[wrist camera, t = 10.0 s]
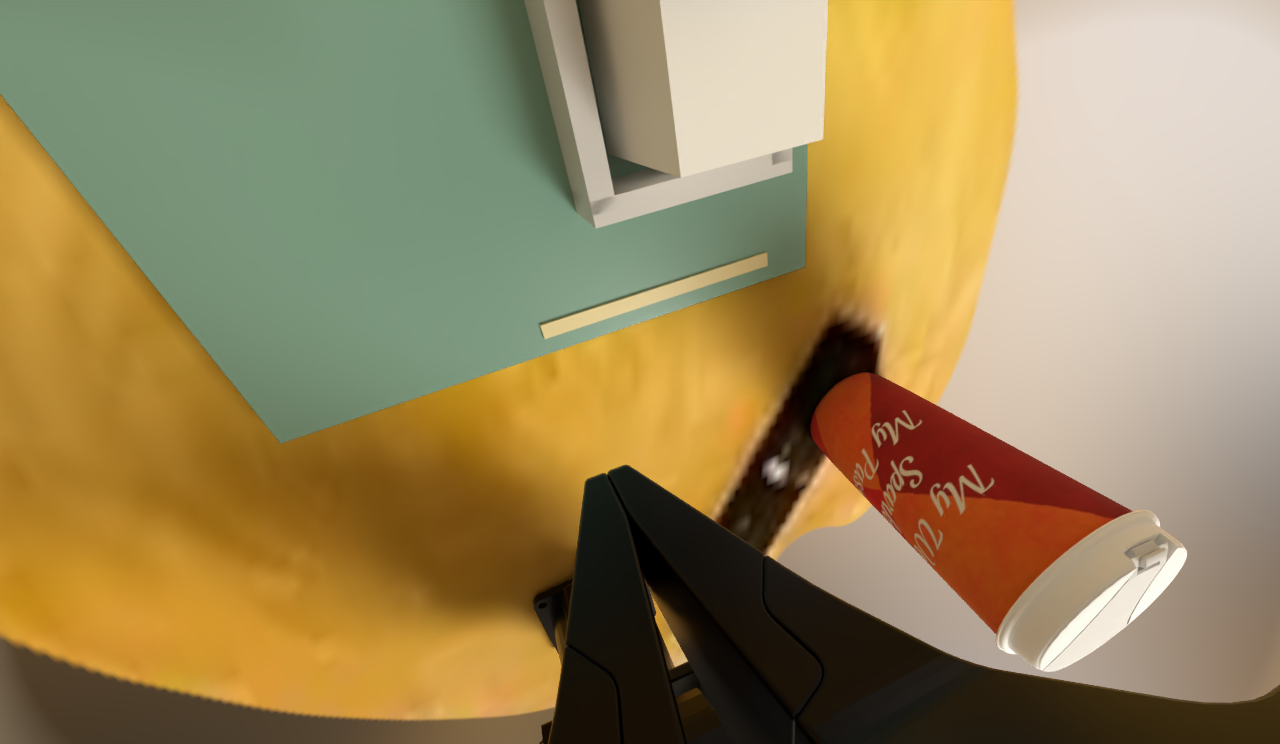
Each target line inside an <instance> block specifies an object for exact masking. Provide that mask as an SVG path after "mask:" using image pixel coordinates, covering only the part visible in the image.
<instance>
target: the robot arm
mask: <svg viewBox="0 0 1280 744" xmlns="http://www.w3.org/2000/svg"><path fill="white" fill-rule="evenodd" d="M650 592H651V593H650ZM651 594H652V596H653V597H654V599H655V601H656V603H657V605H658V607H659V608H660V610H661V612H662V614H663V616H664V618H665V619H666V621H667V623H668V625H669V627H670V629H671V630H672V632H673V634H674V636H675V638H676V640H677V641H678V643H679V645H680V647H681V649H682V651H683V652H684V654H685V656H686V658H687V660H688V662H686V663H684V664H681V665H679V666H677V667H674V665H673V662H672V660H671V657H670V655H669V652H668V650H667V648H666V645H665V643H664V640H663V638H662V636H661V633H660V631H659V628H658V626H657V623H656V621H655V617H654V616H655V615H656V611H655V607H654V604H653V600H652V597H651ZM533 605H534V610H535V611H536V613H537V615H538V617H539V619H540V621H541V622H542V624H543V626H544V628H545V630H546V632H547V633H548V635H549V637H550V639H551V641H552V643H553V644H554V646H555V648H556V650H557V652H558V654H559V657H560V662H561V666H562V667H561V675H560V681H559V687H558V694H557V700H556V706H555V712H554V717H553V721H552V720H551V721H549V722H547V723H545V724H542V725H541V727H542V736H543V740H542V741H541V742H540V744H1280V685H1278V686H1277V687H1276V688H1274V689H1273V690H1271V691H1270V692H1268V693H1267V694H1266V695H1264V696H1262V697H1259V698H1256V699H1253V700H1249V701H1241V702H1233V703H1207V702H1206V703H1205V702H1196V701H1188V700H1187V701H1186V700H1179V699H1172V698H1166V697H1160V696H1154V695H1148V694H1142V693H1136V692H1129V691H1124V690H1117V689H1112V688H1106V687H1100V686H1094V685H1088V684H1082V683H1076V682H1069V681H1064V680H1058V679H1051V678H1045V677H1039V676H1033V675H1027V674H1021V673H1015V672H1009V671H1003V670H998V669H993V668H989V667H986V666H982V665H978V664H975V663H972V662H969V661H966V660H963V659H960V658H958V657H955V656H953V655H951V654H948V653H946V652H943V651H941V650H939V649H937V648H935V647H933V646H931V645H929V644H927V643H925V642H923V641H921V640H919V639H917V638H915V637H913V636H911V635H909V634H908V633H906V632H904V631H902V630H900V629H898V628H896V627H894V626H892V625H890V624H888V623H886V622H884V621H882V620H880V619H878V618H876V617H874V616H872V615H870V614H868V613H866V612H864V611H863V610H861V609H859V608H857V607H855V606H852V605H851V604H848V603H847V602H845V601H843V600H841V599H839V598H838V597H836V596H834V595H832V594H830V593H828V592H826V591H825V590H823V589H821V588H819V587H817V586H815V585H813V584H812V583H810V582H809V581H807V580H805V579H804V578H802V577H801V576H799V575H797V574H796V573H794V572H792V571H791V570H789V569H787V568H786V567H784V566H783V565H781V564H780V563H778V562H777V561H775V560H774V559H772V558H771V557H769V556H765V557H764V553H763V552H761V551H760V550H758V549H757V548H755V547H753V546H752V545H750V544H749V543H747V542H746V541H744V540H743V539H741V538H740V537H738V536H737V535H735V534H733V533H732V532H730V531H729V530H727V529H726V528H724V527H723V526H721V525H720V524H718V523H717V522H715V521H713V520H712V519H710V518H709V517H707V516H706V515H704V514H703V513H701V512H700V511H698V510H697V509H695V508H693V507H692V506H690V505H689V504H687V503H686V502H684V501H683V500H681V499H680V498H678V497H677V496H675V495H673V494H672V493H670V492H669V491H667V490H666V489H664V488H663V487H661V486H660V485H658V484H657V483H655V482H653V481H652V480H650V479H649V478H647V477H646V476H644V475H643V474H641V473H640V472H638V471H637V470H635V469H633V468H632V467H630V466H629V465H623V466H620V467H617V468H615V469H612V470H610V471H609V472H608V474H605V473H602V474H599V475H596V476H594V477H591V478H588V479H587V480H586V482H585V486H584V494H583V502H582V510H581V518H580V526H579V534H578V542H577V550H576V558H575V566H574V574H573V580H571V581H568V582H566V583H564V584H562V585H559V586H557V587H555V588H553V589H550V590H548V591H546V592H543V593H541V594H539V595H537V596H536V597H535V598H534V599H533Z"/></svg>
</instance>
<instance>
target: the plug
mask: <svg viewBox="0 0 1280 744" xmlns="http://www.w3.org/2000/svg"><path fill="white" fill-rule="evenodd" d="M578 3H579V8H580V13H581V19H582V24H583V29H584V34H585V39H586V44H587V49H588V54H589V60H590V65H591V70H592V75H593V80H594V85H595V90H596V96H597V101H598V106H599V111H600V116H601V121H602V126H603V131H604V137H605V142H606V147H607V152H608V154H609V155H612V156H615V157H618V158H622V159H625V160H628V161H631V162H634V163H637V164H640V165H643V166H646V167H649V168H652V169H655V170H658V171H661V172H665V173H668V174H671V175H674V176H677V177H680V178H682V177H686V176H690V175H693V174H697V173H701V172H704V171H708V170H712V169H715V168H719V167H723V166H727V165H730V164H734V163H738V162H741V161H745V160H749V159H752V158H756V157H760V156H764V155H767V154H771V153H775V152H778V151H782V150H786V149H789V148H793V147H797V146H801V145H804V144H808V143H812V142H815V141H819V140H823V127H824V99H825V71H826V43H827V15H828V0H578Z"/></svg>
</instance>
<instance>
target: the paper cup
mask: <svg viewBox="0 0 1280 744" xmlns="http://www.w3.org/2000/svg"><path fill="white" fill-rule="evenodd" d="M810 432H811V436H812V439H813V440H814V442H815V443H816V445H817V446H818V447H819V448H820V449H821V451H822V452H823V453H824V454H825V455H826V456H827V457H828V458H829V459H830V460H831V462H832V463H833V464H834V465H835V466H836V467H837V468H838V469H839V470H840V471H841V472H842V473H843V474H844V475H845V476H846V478H847V479H848V480H849V481H850V482H851V483H852V484H853V485H854V486H855V487H856V488H857V489H858V490H859V491H860V492H861V493H862V494H863V496H864V497H865V498H866V499H867V500H868V501H869V502H870V503H871V504H872V505H873V506H874V507H875V508H876V509H877V510H878V511H879V512H880V513H881V514H882V515H883V517H884V518H885V519H886V520H887V521H888V522H889V523H890V524H891V525H892V526H893V527H894V528H895V529H896V530H897V531H898V532H899V533H900V534H901V535H902V536H903V537H904V539H905V540H906V541H907V542H908V543H909V544H910V545H911V546H912V547H913V548H914V549H915V550H916V551H917V552H918V553H919V554H920V555H921V556H922V557H923V558H924V559H925V560H926V561H927V563H928V564H930V565H931V567H932V568H933V569H934V570H935V571H936V572H937V573H938V574H939V575H940V576H941V577H942V578H943V579H944V580H945V581H946V582H947V583H948V584H949V585H950V587H951V588H953V590H955V592H956V593H957V594H958V595H959V596H960V597H961V598H962V599H963V600H964V601H965V602H966V603H967V604H968V605H969V606H970V607H971V609H972V610H973V611H974V612H975V613H976V614H977V615H978V616H979V617H980V618H981V619H982V620H983V621H984V622H985V623H986V624H987V625H988V626H989V627H990V628H991V629H992V630H993V631H994V633H995V634H996V645H997V646H998V648H999V649H1000V650H1003V651H1005V652H1006V653H1010V654H1017V655H1019V656H1020V657H1021V658H1022V659H1024V660H1025V661H1027V662H1028V663H1029V664H1031V665H1032V666H1033V667H1035V668H1036V669H1041V670H1042V671H1046V672H1053V671H1057V670H1060V669H1062V668H1064V667H1067V666H1069V665H1070V664H1072V663H1074V662H1076V661H1078V660H1080V659H1081V658H1083V657H1085V656H1086V655H1088V654H1089V653H1091V652H1093V651H1094V650H1095V649H1097V648H1098V647H1100V646H1101V645H1103V644H1104V643H1105V642H1106V641H1108V640H1109V639H1110V638H1112V637H1113V636H1114V635H1116V634H1117V633H1118V632H1119V631H1121V630H1122V629H1123V628H1125V627H1126V626H1127V624H1129V623H1130V622H1132V621H1133V620H1134V619H1135V618H1136V617H1137V616H1138V615H1140V613H1142V612H1143V611H1144V610H1145V609H1146V608H1147V607H1148V606H1149V605H1150V604H1151V603H1152V602H1153V601H1154V600H1155V599H1156V598H1157V597H1158V596H1159V595H1160V594H1161V593H1162V592H1163V591H1164V589H1165V588H1166V587H1167V586H1168V585H1169V584H1170V583H1171V581H1172V580H1173V579H1174V578H1175V576H1176V575H1177V573H1178V572H1179V571H1180V569H1181V568H1182V566H1183V564H1184V562H1185V559H1186V557H1187V551H1186V549H1185V548H1184V547H1183V545H1182V544H1181V543H1180V542H1179V541H1177V540H1176V539H1175V538H1173V537H1172V536H1171V535H1170V534H1168V533H1167V532H1165V531H1164V530H1163V529H1161V528H1160V522H1159V520H1158V518H1157V517H1156V516H1155V514H1154V513H1152V512H1150V511H1148V510H1138V511H1131V510H1129V509H1128V508H1126V507H1124V506H1122V505H1120V504H1118V503H1116V502H1115V501H1113V500H1111V499H1109V498H1107V497H1105V496H1104V495H1102V494H1100V493H1098V492H1096V491H1094V490H1092V489H1090V488H1089V487H1087V486H1085V485H1083V484H1081V483H1079V482H1077V481H1076V480H1074V479H1072V478H1070V477H1068V476H1066V475H1065V474H1063V473H1061V472H1059V471H1057V470H1055V469H1053V468H1051V467H1050V466H1048V465H1046V464H1044V463H1042V462H1041V461H1039V460H1037V459H1035V458H1033V457H1031V456H1030V455H1028V454H1026V453H1024V452H1022V451H1020V450H1018V449H1016V448H1015V447H1013V446H1011V445H1009V444H1007V443H1005V442H1003V441H1002V440H1000V439H998V438H996V437H994V436H992V435H991V434H989V433H987V432H985V431H983V430H981V429H980V428H977V427H976V426H974V425H972V424H970V423H968V422H967V421H965V420H963V419H961V418H959V417H957V416H955V415H954V414H952V413H950V412H948V411H946V410H944V409H942V408H940V407H939V406H937V405H935V404H933V403H931V402H929V401H927V400H925V399H924V398H922V397H920V396H918V395H916V394H914V393H912V392H910V391H909V390H907V389H905V388H903V387H901V386H899V385H897V384H895V383H893V382H891V381H889V380H887V379H885V378H883V377H881V376H879V375H876V374H873V373H869V372H862V373H857V374H854V375H851V376H849V377H847V378H845V379H843V380H841V381H840V382H838V383H837V384H836V385H834V386H833V387H832V388H831V389H830V390H829V391H828V392H827V393H826V394H825V395H824V397H823V398H822V399H821V401H820V402H819V404H818V405H817V407H816V409H815V411H814V413H813V416H812V419H811V424H810Z"/></svg>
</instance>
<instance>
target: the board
mask: <svg viewBox="0 0 1280 744" xmlns="http://www.w3.org/2000/svg"><path fill="white" fill-rule="evenodd" d="M0 94H1V95H2V97H3V98H4V99H5V100H6V102H7V103H8V104H9V105H10V107H11V108H12V109H13V110H14V112H15V113H16V114H17V115H18V117H19V118H20V119H21V120H22V122H23V123H24V124H25V125H26V127H27V128H28V129H29V130H30V132H31V133H32V134H33V135H34V137H35V138H36V139H37V140H38V142H39V143H40V144H41V145H42V147H43V148H44V149H45V150H46V152H47V153H48V154H49V155H50V157H51V158H52V159H53V160H54V162H55V163H56V164H57V165H58V167H59V168H60V169H61V170H62V172H63V173H64V174H65V175H66V177H67V178H68V179H69V180H70V182H71V183H72V184H73V185H74V187H75V188H76V189H77V190H78V192H79V193H80V194H81V195H82V197H83V198H84V199H85V200H86V202H87V203H88V204H89V205H90V206H91V208H92V209H93V210H94V211H95V213H96V214H97V215H98V216H99V218H100V219H101V220H102V221H103V223H104V224H105V225H106V226H107V228H108V229H109V230H110V231H111V233H112V234H113V235H114V236H115V238H116V239H117V240H118V241H119V243H120V244H121V245H122V246H123V248H124V249H125V250H126V251H127V253H128V254H129V255H130V256H131V258H132V259H133V260H134V261H135V263H136V264H137V265H138V266H139V268H140V269H141V270H142V271H143V273H144V274H145V275H146V276H147V278H148V279H149V280H150V281H151V283H152V284H153V285H154V286H155V288H156V289H157V290H158V291H159V293H160V294H161V295H162V296H163V298H164V299H165V300H166V301H167V303H168V304H169V305H170V306H171V308H172V309H173V310H174V311H175V313H176V314H177V315H178V316H179V318H180V319H181V320H182V321H183V323H184V324H185V325H186V326H187V328H188V329H189V330H190V331H191V333H192V334H193V335H194V336H195V338H196V339H197V340H198V341H199V342H200V344H201V345H202V346H203V347H204V349H205V350H206V351H207V352H208V354H209V355H210V356H211V357H212V359H213V360H214V361H215V362H216V364H217V365H218V366H219V367H220V369H221V370H222V371H223V372H224V374H225V375H226V376H227V377H228V379H229V380H230V381H231V382H232V384H233V385H234V386H235V387H236V389H237V390H238V391H239V392H240V394H241V395H242V396H243V397H244V399H245V400H246V401H247V402H248V404H249V405H250V406H251V407H252V409H253V410H254V411H255V412H256V414H257V415H258V416H259V417H260V419H261V420H262V421H263V422H264V424H265V425H266V426H267V427H268V429H269V430H270V431H271V432H272V434H273V435H274V436H275V437H276V439H277V440H278V441H279V442H280V444H281V443H284V442H287V441H290V440H293V439H296V438H299V437H302V436H305V435H308V434H311V433H314V432H317V431H320V430H323V429H326V428H329V427H332V426H335V425H338V424H341V423H344V422H346V421H349V420H352V419H355V418H358V417H361V416H364V415H367V414H370V413H373V412H376V411H379V410H382V409H385V408H388V407H391V406H394V405H397V404H400V403H403V402H406V401H409V400H412V399H415V398H418V397H421V396H424V395H427V394H430V393H433V392H436V391H439V390H442V389H445V388H448V387H451V386H454V385H456V384H459V383H462V382H465V381H468V380H471V379H474V378H477V377H480V376H483V375H486V374H489V373H492V372H495V371H498V370H501V369H504V368H507V367H510V366H513V365H516V364H519V363H522V362H525V361H528V360H531V359H534V358H537V357H540V356H543V355H546V354H549V353H552V352H555V351H558V350H561V349H563V348H566V347H569V346H572V345H575V344H578V343H581V342H584V341H587V340H590V339H593V338H596V337H599V336H602V335H605V334H608V333H611V332H614V331H617V330H620V329H623V328H626V327H629V326H632V325H635V324H638V323H641V322H644V321H647V320H650V319H653V318H656V317H659V316H662V315H665V314H668V313H670V312H673V311H676V310H679V309H682V308H685V307H688V306H691V305H694V304H697V303H700V302H703V301H706V300H709V299H712V298H715V297H718V296H721V295H724V294H727V293H730V292H733V291H736V290H739V289H742V288H745V287H748V286H751V285H754V284H757V283H760V282H763V281H766V280H769V279H772V278H775V277H778V276H780V275H783V274H786V273H789V272H792V271H795V270H798V269H801V268H804V267H805V265H806V203H807V144H804V145H801V146H797V147H793V148H789V149H786V150H782V151H778V152H775V153H771V154H767V155H764V156H760V157H756V158H752V159H749V160H745V161H741V162H738V163H734V164H730V165H727V166H723V167H719V168H715V169H712V170H708V171H704V172H701V173H697V174H693V175H690V176H686V177H682V178H680V177H677V176H674V175H671V174H668V173H665V172H661V171H658V170H655V169H652V168H649V167H646V166H643V165H640V164H637V163H634V162H631V161H628V160H625V159H622V158H618V157H615V156H612V155H609V154H608V152H607V147H606V142H605V137H604V131H603V126H602V121H601V116H600V111H599V106H598V101H597V96H596V90H595V85H594V80H593V75H592V70H591V65H590V60H589V54H588V49H587V44H586V39H585V34H584V29H583V24H582V19H581V13H580V8H579V3H578V0H0Z"/></svg>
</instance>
